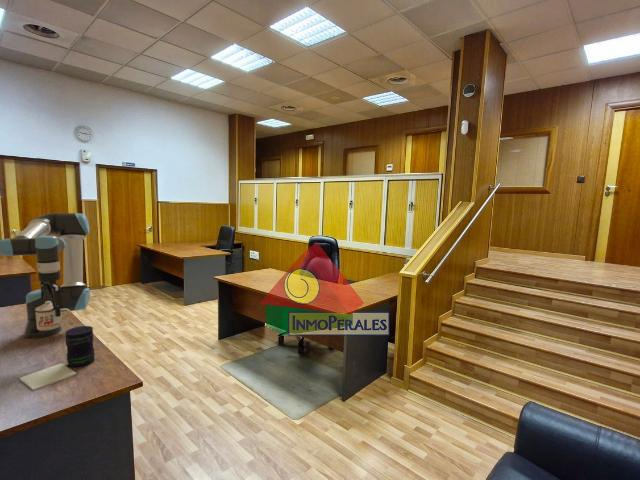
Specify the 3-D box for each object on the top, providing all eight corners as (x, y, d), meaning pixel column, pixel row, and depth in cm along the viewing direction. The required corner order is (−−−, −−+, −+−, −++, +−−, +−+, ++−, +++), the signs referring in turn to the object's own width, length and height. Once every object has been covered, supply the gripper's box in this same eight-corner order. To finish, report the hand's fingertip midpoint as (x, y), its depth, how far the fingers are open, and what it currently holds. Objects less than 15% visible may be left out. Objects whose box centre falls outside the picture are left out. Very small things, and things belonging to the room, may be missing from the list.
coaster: (19, 379, 130) (19, 377, 130) (61, 364, 142) (61, 363, 142) (33, 390, 122) (33, 389, 122) (76, 374, 134) (76, 373, 134)
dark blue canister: (63, 369, 137) (61, 336, 136) (71, 359, 147) (69, 327, 145) (91, 366, 141) (89, 333, 139) (97, 355, 150) (95, 324, 148)
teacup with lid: (35, 332, 138) (33, 306, 137) (36, 325, 145) (34, 300, 144) (71, 326, 145) (69, 301, 144) (70, 320, 153) (68, 296, 151)
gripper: (28, 269, 145) (32, 317, 148) (48, 276, 133) (53, 329, 136) (49, 266, 151) (53, 312, 154) (70, 273, 140) (73, 323, 143)
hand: (53, 320), depth 145 cm, fingers closed on teacup with lid, 9 cm apart
